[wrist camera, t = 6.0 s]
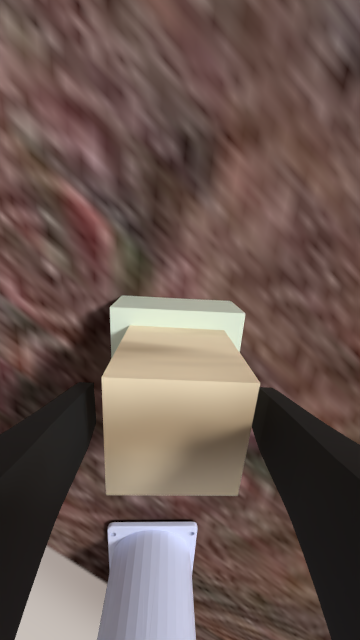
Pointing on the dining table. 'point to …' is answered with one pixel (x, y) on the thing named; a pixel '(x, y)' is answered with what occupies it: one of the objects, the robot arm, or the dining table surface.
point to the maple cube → (176, 413)
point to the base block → (175, 316)
